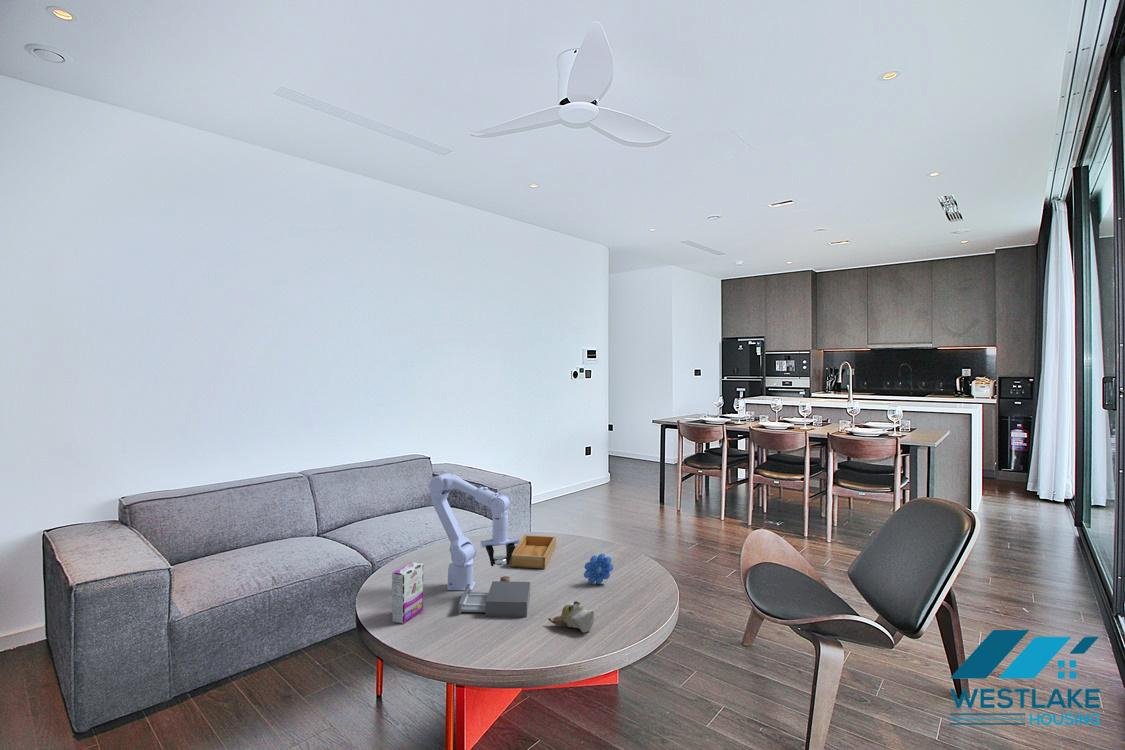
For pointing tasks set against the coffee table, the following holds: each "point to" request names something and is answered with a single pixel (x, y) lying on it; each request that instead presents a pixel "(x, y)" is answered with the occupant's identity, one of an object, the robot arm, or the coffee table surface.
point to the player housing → (508, 599)
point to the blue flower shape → (598, 569)
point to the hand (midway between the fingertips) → (499, 564)
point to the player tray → (472, 601)
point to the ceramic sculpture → (575, 617)
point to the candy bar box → (407, 592)
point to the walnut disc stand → (505, 578)
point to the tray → (533, 552)
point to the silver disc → (500, 560)
